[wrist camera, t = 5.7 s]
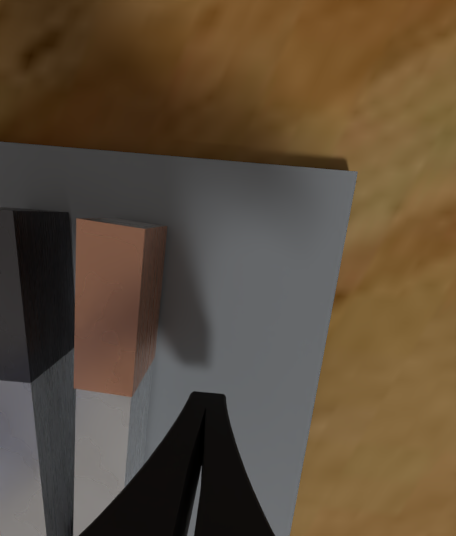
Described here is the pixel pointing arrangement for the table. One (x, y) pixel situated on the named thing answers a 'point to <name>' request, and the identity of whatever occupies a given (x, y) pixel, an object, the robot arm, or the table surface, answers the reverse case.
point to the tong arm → (113, 355)
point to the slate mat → (218, 286)
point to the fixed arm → (36, 374)
